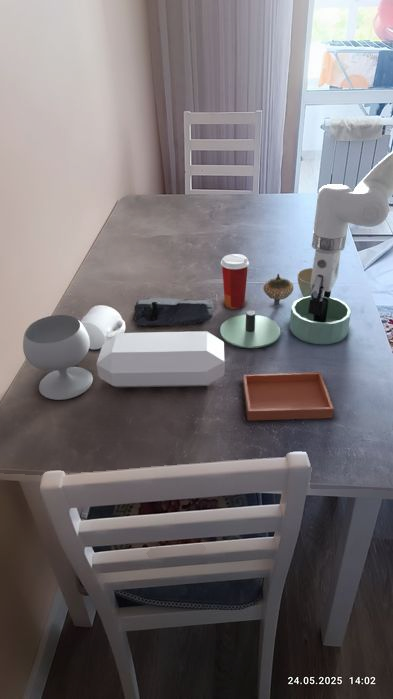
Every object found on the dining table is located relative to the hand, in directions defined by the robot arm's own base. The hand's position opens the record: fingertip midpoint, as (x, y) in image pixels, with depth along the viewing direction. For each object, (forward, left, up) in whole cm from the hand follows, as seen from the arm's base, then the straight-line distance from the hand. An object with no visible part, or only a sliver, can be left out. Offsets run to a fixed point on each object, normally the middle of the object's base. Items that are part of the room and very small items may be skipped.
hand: (319, 304), depth 122 cm
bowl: (-1, 0, -7) cm, 7 cm away
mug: (+55, +2, -7) cm, 56 cm away
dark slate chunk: (+37, -10, -7) cm, 39 cm away
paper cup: (+20, -15, -7) cm, 26 cm away
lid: (+17, +1, -7) cm, 19 cm away
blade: (0, 0, -7) cm, 7 cm away
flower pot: (-3, -17, -7) cm, 19 cm away
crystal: (+39, +18, -7) cm, 44 cm away
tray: (+12, +28, -7) cm, 32 cm away
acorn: (+8, -13, -7) cm, 17 cm away
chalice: (+62, +20, -7) cm, 65 cm away
